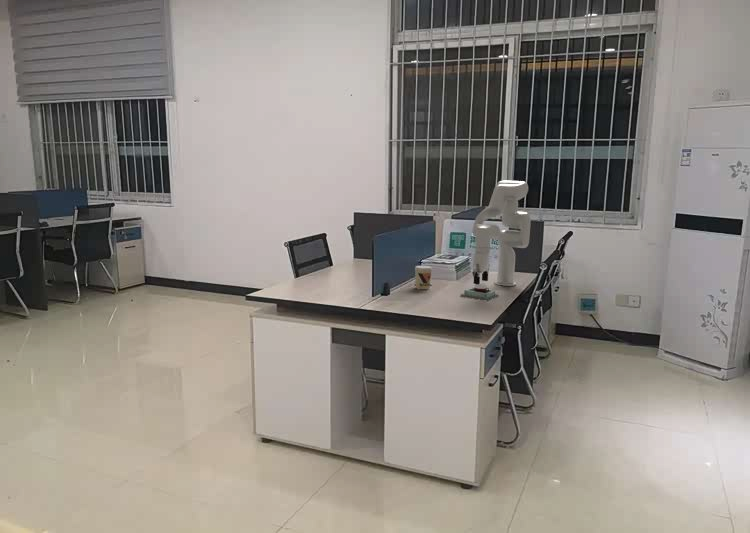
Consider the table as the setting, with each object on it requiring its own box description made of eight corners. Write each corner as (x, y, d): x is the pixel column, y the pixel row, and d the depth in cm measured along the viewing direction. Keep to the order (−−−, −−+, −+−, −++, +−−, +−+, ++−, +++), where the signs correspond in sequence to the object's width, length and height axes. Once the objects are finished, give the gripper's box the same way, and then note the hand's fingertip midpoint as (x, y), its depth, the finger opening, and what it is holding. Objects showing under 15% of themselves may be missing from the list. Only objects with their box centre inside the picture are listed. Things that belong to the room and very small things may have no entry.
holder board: (472, 292, 313) (472, 286, 313) (498, 296, 305) (498, 290, 304) (460, 296, 302) (460, 290, 301) (487, 301, 293) (487, 294, 293)
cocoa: (488, 294, 305) (490, 271, 303) (488, 296, 299) (490, 273, 297) (470, 292, 307) (472, 270, 305) (469, 294, 301) (472, 271, 299)
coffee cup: (417, 290, 314) (418, 268, 312) (411, 286, 323) (412, 265, 321) (433, 289, 317) (434, 268, 315) (427, 286, 325) (428, 265, 323)
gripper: (483, 247, 308) (481, 278, 311) (468, 251, 294) (466, 284, 298) (496, 248, 304) (494, 280, 307) (481, 252, 290) (479, 286, 293)
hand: (480, 282), depth 302 cm, fingers open, 9 cm apart
